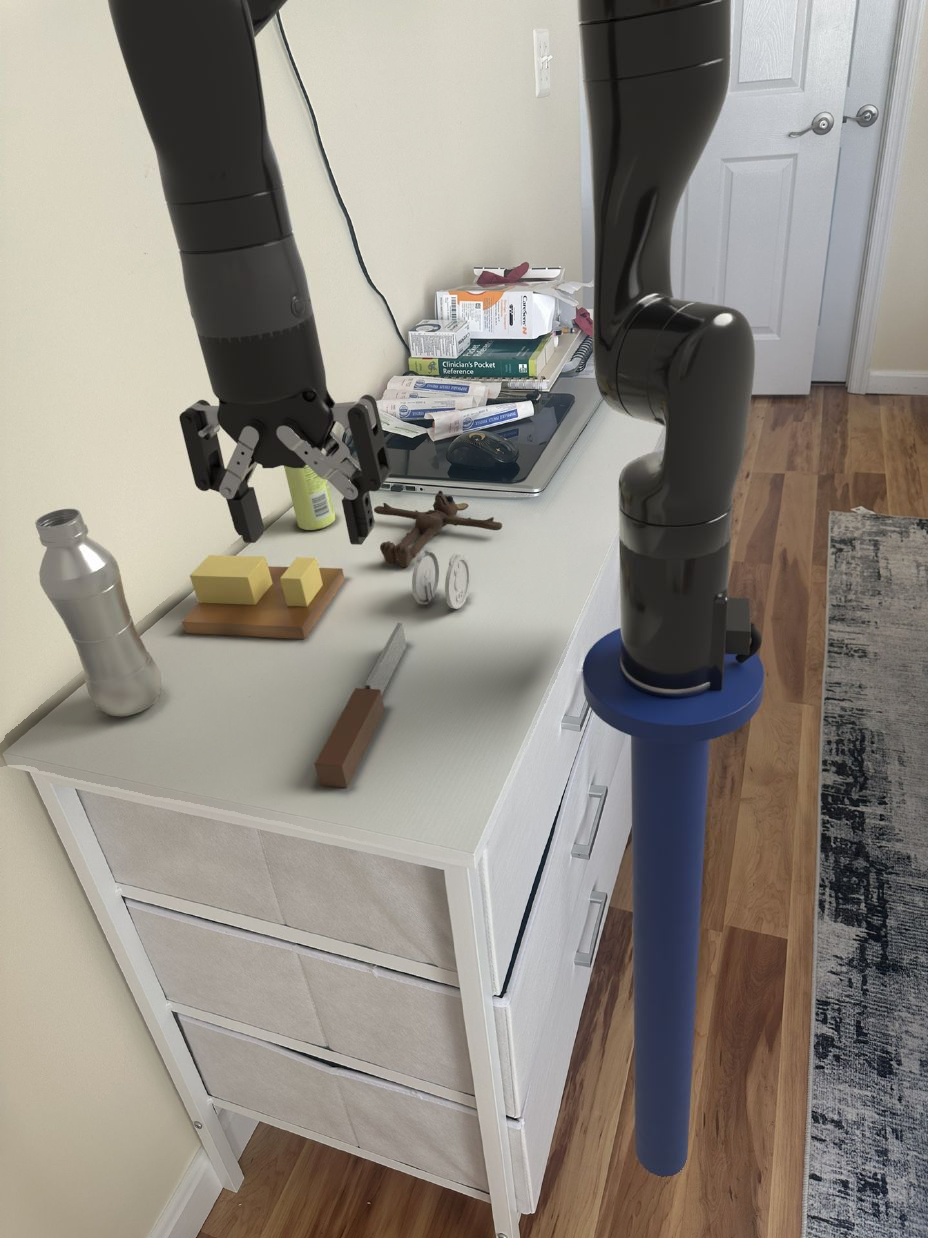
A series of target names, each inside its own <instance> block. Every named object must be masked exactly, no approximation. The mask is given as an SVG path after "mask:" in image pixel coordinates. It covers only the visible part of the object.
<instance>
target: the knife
mask: <svg viewBox="0 0 928 1238" xmlns="http://www.w3.org/2000/svg"><path fill="white" fill-rule="evenodd" d="M406 648H407V641H406V637H405V630H404V626H403V622H397V624H396V625H395V627H394V629H393V631H392V633H391V635H390V637H389V638H388V641H387V642H386V644H385V646H384V648H383V650H382V652H381V653H380V655H379V657H378V659H377V661H376V663H375V665H374V667H373V668H372V670H371V673H370V674H369V676H368V678H367V679H366V682H365V684H364V688H362V687H355V688H354V690H353V691H352V693H351V696H350V697H349V699H348V701H347V703H346V704H345V707H344V708H343V710H342V712H341V714H340V716H339V717H338V719H337V721H336V723H335V725H334V727H333V728H332V730H331V732H330V734H329V735H328V738H327V740H326V741H325V744H324V745H323V747H322V749H321V750H320V753H319V754H318V756H317V757H316V760H315V762H314V767H315V772H316V775H317V779H318V782H319V786H324V787H335V788H344V789H346V788H347V789H348V787H349V785H350V783H351V780H352V779H353V776H354V774H355V772H356V770H357V769H358V766H359V764H360V762H361V760H362V758H363V756H364V753H365V752H366V750H367V747H368V746H369V743H370V741H371V740H372V738H373V735H374V733H375V731H376V729H377V727H378V725H379V722H380V720H381V719H382V717H383V715H384V713H385V707H384V701H383V694H384V692H385V690H386V688H387V686H388V684H389V682H390V680H391V678H392V675H393V674H394V672H395V670H396V668H397V666H398V664H399V662H400V660H401V658H402V656H403V654H404V652H405V650H406Z"/></svg>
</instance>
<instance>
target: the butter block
mask: <svg viewBox="0 0 928 1238" xmlns="http://www.w3.org/2000/svg"><path fill="white" fill-rule="evenodd" d="M268 566H269V565H268V560H267V557H266V556H258V555H223V554H222V555H220V554H219V555H217V554H208V556H207V557H206V558H205V559H204V560H203V561H201V563H200V564H199V565H198V566H197V567H196V568H195V569H194V570H193V571H192V572H191V573H190V574H189V578H190V581H191V584H192V587H193V590H194V593H195V596H196V600H197V603H221V604H246V605H256V604H257V603H258V601H259V600H260V599H261V598H262V596H263V595H264V594H265V592H266V591H267V590H268V589H269V587H270V586H271V585H272V584H273V583H272V579H271V575H270V572H269V568H268Z"/></svg>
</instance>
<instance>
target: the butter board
mask: <svg viewBox="0 0 928 1238" xmlns="http://www.w3.org/2000/svg"><path fill="white" fill-rule="evenodd" d="M268 568H269V572H270V575H271V579H272V583H273V584H272V585H271V586H270V587H269V589H268V590H267V591H266V592H265V594H264V595H263V596H262V598H261V599H260V600H259V601H258V603H257V604H256V605H246V604H221V603H199V602H197V604H196V605H195V606H194V607H193V609H191V610H190V612H189V613H188V614H187V615H186V616H185V617H184V619H183V620H181V624H182V627H183V630H184V632H185V634H198V635H217V636H236V637H239V636H240V637H255V638H256V637H257V638H276V639H277V638H279V639H293V640H295V639H298V640H305V639H306V638H307V636H308V635H309V633H310V632H311V630H312V629H313V627H314V626H315V624H316V623H317V621H318V620H319V619H320V617H321V616H322V614H323V613H324V612H325V610H326V608H327V607H328V605H329V604H330V602H331V601H332V600H333V598H334V596H335V595H336V594H337V592H338V591H339V589H340V588H341V586H342V584H343V583H344V581H345V580H346V579H345V574H344V569H343V568H339V567H319V570H320V575H321V579H322V583H323V586H322V587H321V588H320V590H319V591H318V593H317V594H316V595H315V597H314V598H313V600H312V601H311V602H310V604H309V605H308V606H307V607H301V606H287V603H286V599H285V595H284V592H283V588H282V584H281V580H280V578H281V576H282V575H283V574H284V573H285V571H286V570H287V569H288V568H289V566H272V565H271V566H269V565H268Z"/></svg>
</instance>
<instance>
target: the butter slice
mask: <svg viewBox="0 0 928 1238" xmlns="http://www.w3.org/2000/svg"><path fill="white" fill-rule="evenodd" d="M288 567H289V568H288V569H287V570H286V571H285V573H284V574H283V575H282V576H281V578H280V580H281V584H282V588H283V592H284V595H285V599H286V603H287V606H301V607H307V606H308V605H309V604H310V602H311V601H312V600H313V598H314V597H315V595H316V594H317V593H318V591H319V590H320V588H321V587H322V586H323V583H322V579H321V575H320V570H319V568H320V566H319V562H318V558H317V557H306V556H305V557H303V556H302V557H301V556H299V557H295V559H294V560H293V561H292V562H291V564H290V565H289V566H288Z"/></svg>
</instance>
